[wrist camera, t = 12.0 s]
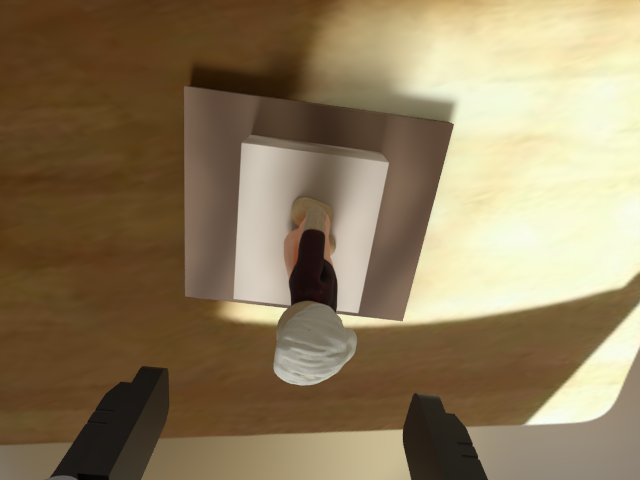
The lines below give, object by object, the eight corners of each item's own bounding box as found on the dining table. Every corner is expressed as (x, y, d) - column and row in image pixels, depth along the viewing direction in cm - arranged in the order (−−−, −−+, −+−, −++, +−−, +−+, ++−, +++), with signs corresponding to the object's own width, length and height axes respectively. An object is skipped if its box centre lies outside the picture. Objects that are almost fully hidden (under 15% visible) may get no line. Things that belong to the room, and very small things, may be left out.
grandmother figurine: (269, 188, 24) (222, 294, 13) (329, 175, 24) (338, 270, 12) (299, 292, 27) (283, 455, 15) (352, 281, 27) (377, 440, 15)
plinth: (189, 288, 32) (170, 321, 28) (189, 85, 26) (164, 87, 22) (399, 312, 33) (411, 347, 29) (448, 122, 27) (472, 130, 23)
